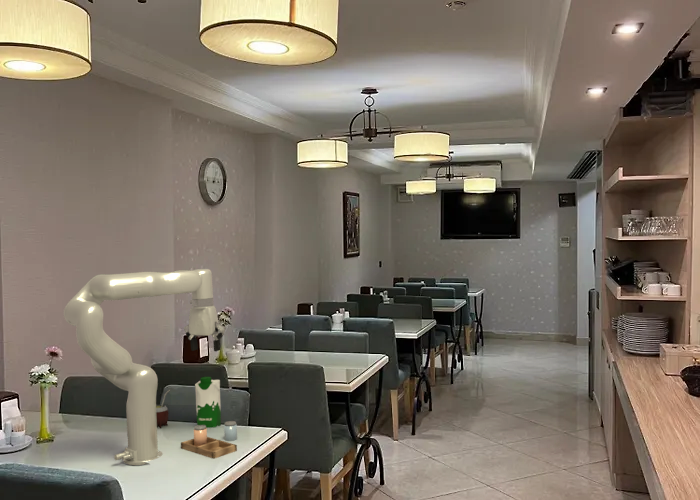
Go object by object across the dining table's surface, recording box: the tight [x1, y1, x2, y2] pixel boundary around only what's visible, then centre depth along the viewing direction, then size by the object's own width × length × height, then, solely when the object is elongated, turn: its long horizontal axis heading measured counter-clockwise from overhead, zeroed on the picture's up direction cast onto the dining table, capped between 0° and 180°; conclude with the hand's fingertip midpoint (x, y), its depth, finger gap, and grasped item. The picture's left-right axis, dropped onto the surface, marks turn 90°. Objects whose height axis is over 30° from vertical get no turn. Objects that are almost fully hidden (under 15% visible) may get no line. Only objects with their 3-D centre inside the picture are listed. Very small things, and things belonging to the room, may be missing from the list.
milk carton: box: [194, 376, 222, 429], centre depth 255 cm, size 9×9×20 cm
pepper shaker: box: [193, 424, 208, 446], centre depth 228 cm, size 4×4×7 cm
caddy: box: [180, 436, 238, 459], centre depth 225 cm, size 10×18×3 cm, turn 49°
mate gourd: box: [156, 388, 172, 430], centre depth 260 cm, size 8×8×15 cm
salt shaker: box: [223, 420, 238, 442], centre depth 236 cm, size 4×4×7 cm
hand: (205, 350), depth 238 cm, fingers open, 9 cm apart
